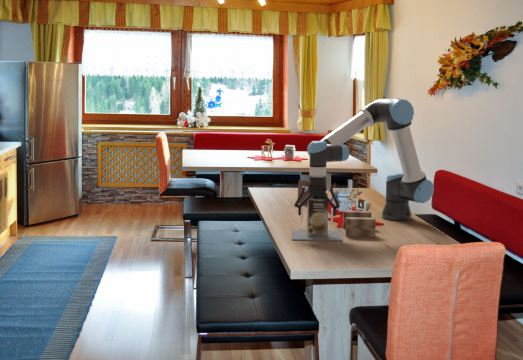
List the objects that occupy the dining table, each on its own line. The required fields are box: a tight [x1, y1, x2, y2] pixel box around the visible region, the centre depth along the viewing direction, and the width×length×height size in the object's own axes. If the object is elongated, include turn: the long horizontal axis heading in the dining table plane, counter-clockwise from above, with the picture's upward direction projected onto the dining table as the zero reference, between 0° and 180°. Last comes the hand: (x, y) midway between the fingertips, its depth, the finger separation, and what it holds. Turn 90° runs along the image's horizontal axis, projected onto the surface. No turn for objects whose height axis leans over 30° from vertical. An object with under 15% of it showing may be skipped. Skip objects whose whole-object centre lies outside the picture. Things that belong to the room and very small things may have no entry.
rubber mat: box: [291, 229, 343, 242], centre depth 301 cm, size 22×18×1 cm
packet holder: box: [342, 210, 377, 238], centre depth 311 cm, size 13×20×8 cm, turn 178°
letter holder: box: [297, 179, 329, 207], centre depth 378 cm, size 10×20×14 cm, turn 21°
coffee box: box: [306, 199, 330, 236], centre depth 300 cm, size 9×6×16 cm
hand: (316, 222), depth 300 cm, fingers open, 13 cm apart
